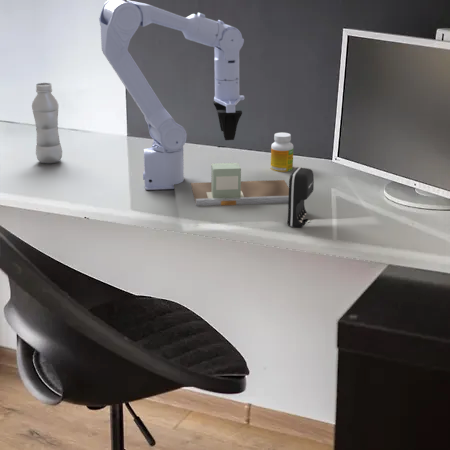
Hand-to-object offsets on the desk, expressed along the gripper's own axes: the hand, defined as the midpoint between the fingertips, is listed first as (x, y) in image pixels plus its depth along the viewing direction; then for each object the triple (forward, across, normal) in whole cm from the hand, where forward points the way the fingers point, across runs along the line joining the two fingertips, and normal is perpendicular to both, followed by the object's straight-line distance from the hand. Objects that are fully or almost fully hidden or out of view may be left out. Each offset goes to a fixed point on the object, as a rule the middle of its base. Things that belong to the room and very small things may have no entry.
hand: (227, 135), depth 196 cm
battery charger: (+11, -31, -12) cm, 35 cm away
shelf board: (+10, -14, -2) cm, 18 cm away
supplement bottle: (+11, +2, -14) cm, 17 cm away
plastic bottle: (+10, +16, +44) cm, 47 cm away
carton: (+9, -17, +2) cm, 20 cm away
